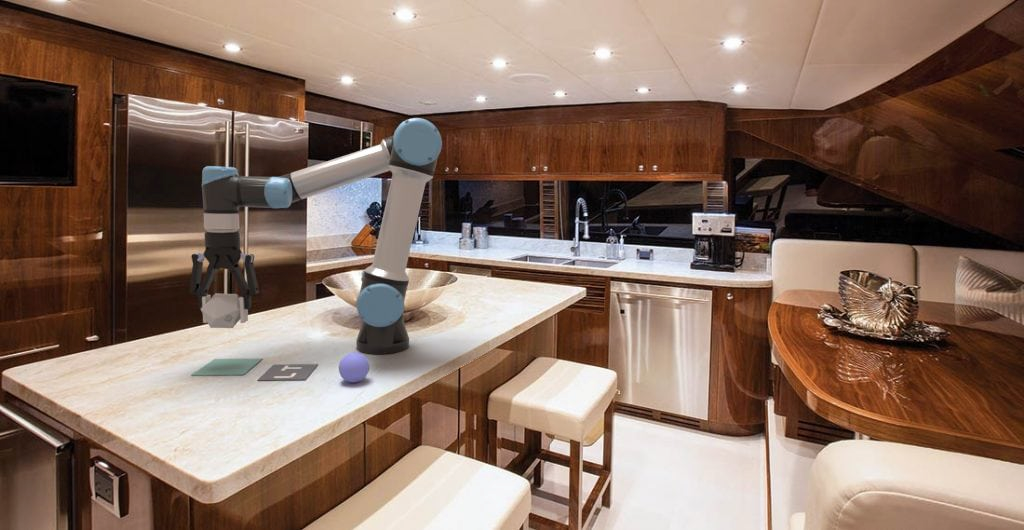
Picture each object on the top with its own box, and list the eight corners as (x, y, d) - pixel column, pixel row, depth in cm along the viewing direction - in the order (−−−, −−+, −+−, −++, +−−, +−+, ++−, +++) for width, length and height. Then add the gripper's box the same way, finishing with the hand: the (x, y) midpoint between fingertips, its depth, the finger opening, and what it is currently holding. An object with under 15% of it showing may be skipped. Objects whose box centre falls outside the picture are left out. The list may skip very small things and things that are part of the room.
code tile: (317, 365, 131) (317, 364, 131) (305, 380, 121) (305, 379, 121) (273, 365, 130) (273, 364, 130) (257, 381, 119) (257, 379, 119)
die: (216, 336, 120) (244, 301, 122) (186, 315, 121) (214, 281, 123) (233, 338, 128) (258, 306, 131) (204, 319, 129) (230, 287, 131)
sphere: (369, 375, 125) (369, 348, 124) (369, 385, 119) (369, 357, 118) (339, 377, 123) (339, 349, 122) (337, 387, 117) (337, 358, 116)
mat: (262, 359, 135) (262, 358, 135) (244, 375, 123) (243, 374, 123) (214, 359, 133) (214, 358, 133) (191, 375, 121) (191, 374, 121)
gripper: (272, 230, 128) (274, 318, 131) (184, 228, 126) (189, 317, 129) (261, 233, 121) (264, 325, 124) (167, 230, 118) (173, 325, 121)
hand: (225, 321), depth 126 cm, fingers closed on die, 8 cm apart
